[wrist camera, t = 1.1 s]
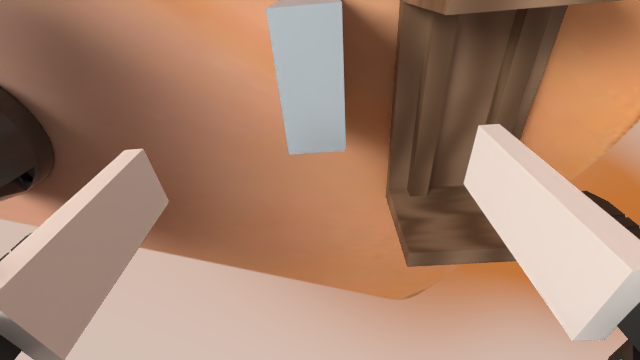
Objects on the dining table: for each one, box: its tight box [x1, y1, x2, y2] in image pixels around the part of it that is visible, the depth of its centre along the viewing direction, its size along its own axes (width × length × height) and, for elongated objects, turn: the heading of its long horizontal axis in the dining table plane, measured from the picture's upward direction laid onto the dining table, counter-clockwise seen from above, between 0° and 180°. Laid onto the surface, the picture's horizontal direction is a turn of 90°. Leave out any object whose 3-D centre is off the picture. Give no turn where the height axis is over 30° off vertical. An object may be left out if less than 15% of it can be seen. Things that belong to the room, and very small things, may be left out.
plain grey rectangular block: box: [266, 0, 346, 155], centre depth 24 cm, size 4×10×10 cm, turn 4°
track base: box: [386, 0, 620, 267], centre depth 26 cm, size 14×24×11 cm, turn 4°
